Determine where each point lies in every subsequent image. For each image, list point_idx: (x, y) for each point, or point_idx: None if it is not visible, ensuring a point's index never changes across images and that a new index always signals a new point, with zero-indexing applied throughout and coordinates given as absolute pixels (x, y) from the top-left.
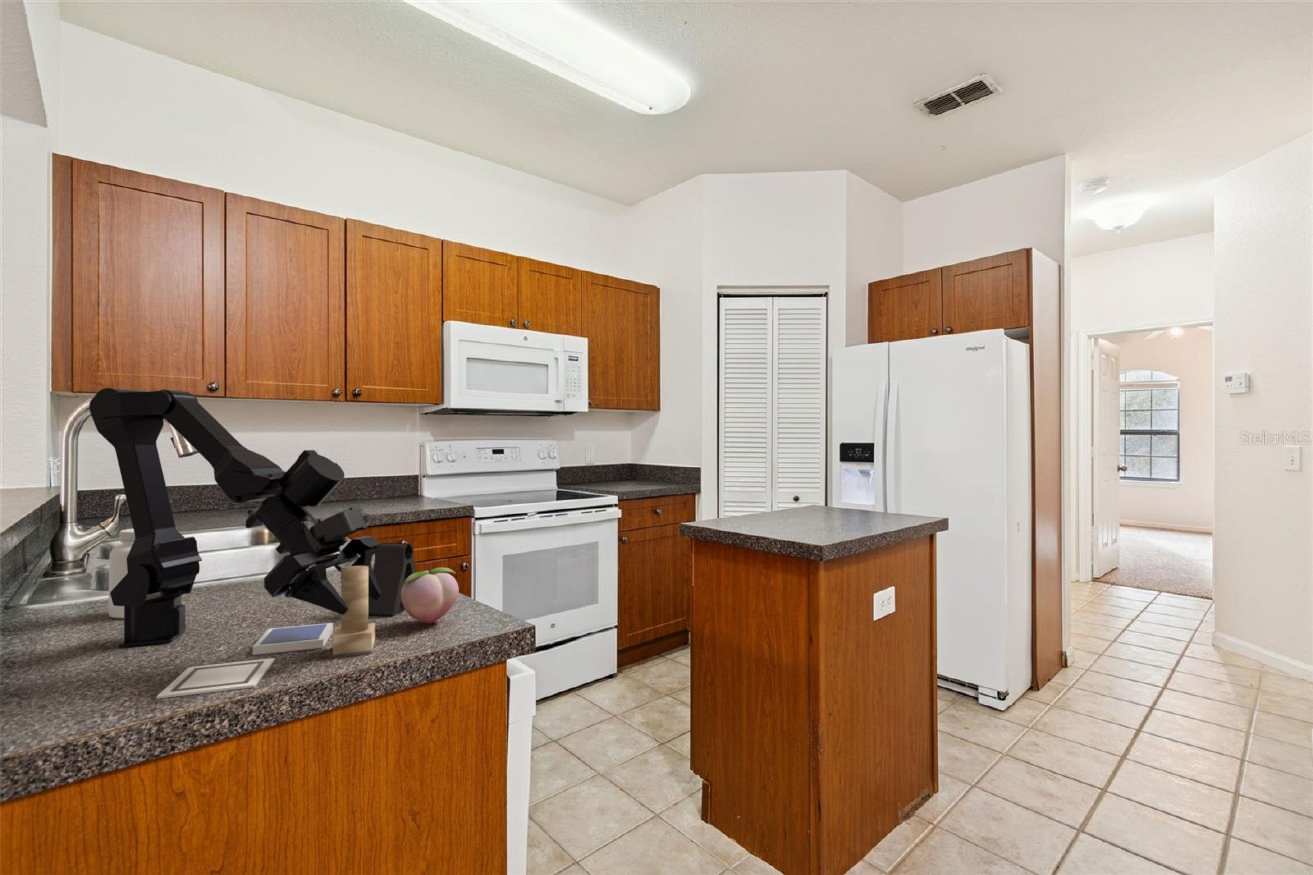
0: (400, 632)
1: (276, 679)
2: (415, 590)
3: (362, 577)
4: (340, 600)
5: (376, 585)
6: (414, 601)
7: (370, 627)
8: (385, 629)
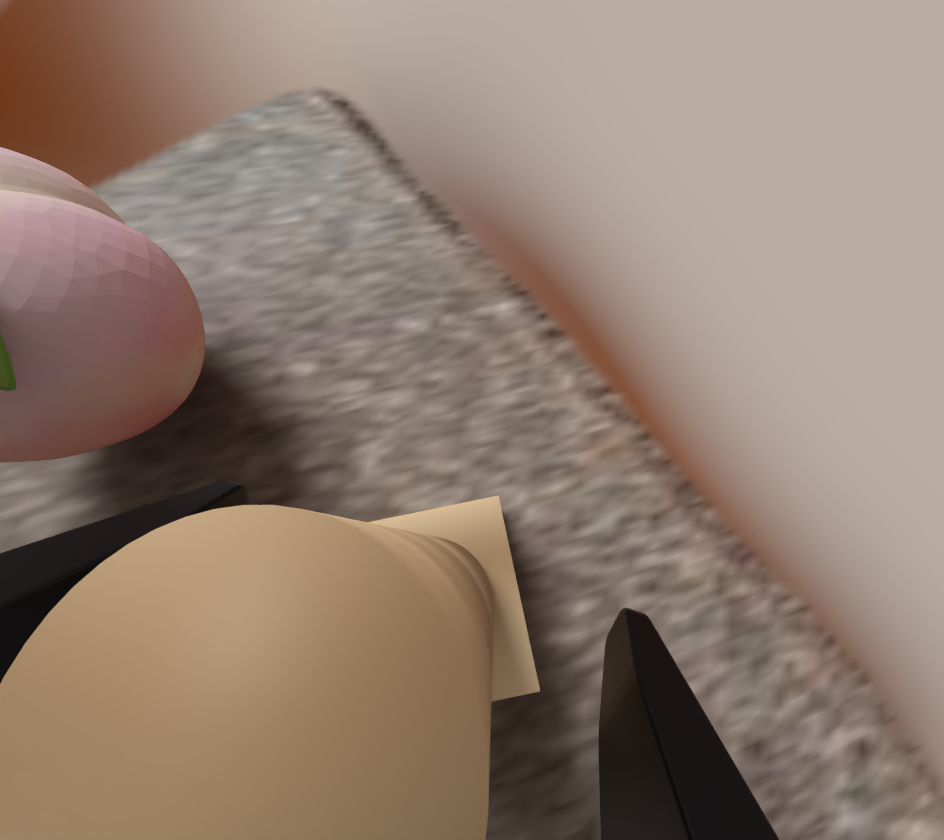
0: (242, 465)
1: (800, 832)
2: (106, 319)
3: (422, 555)
4: (676, 696)
5: (149, 519)
6: (170, 351)
7: (406, 529)
8: None
